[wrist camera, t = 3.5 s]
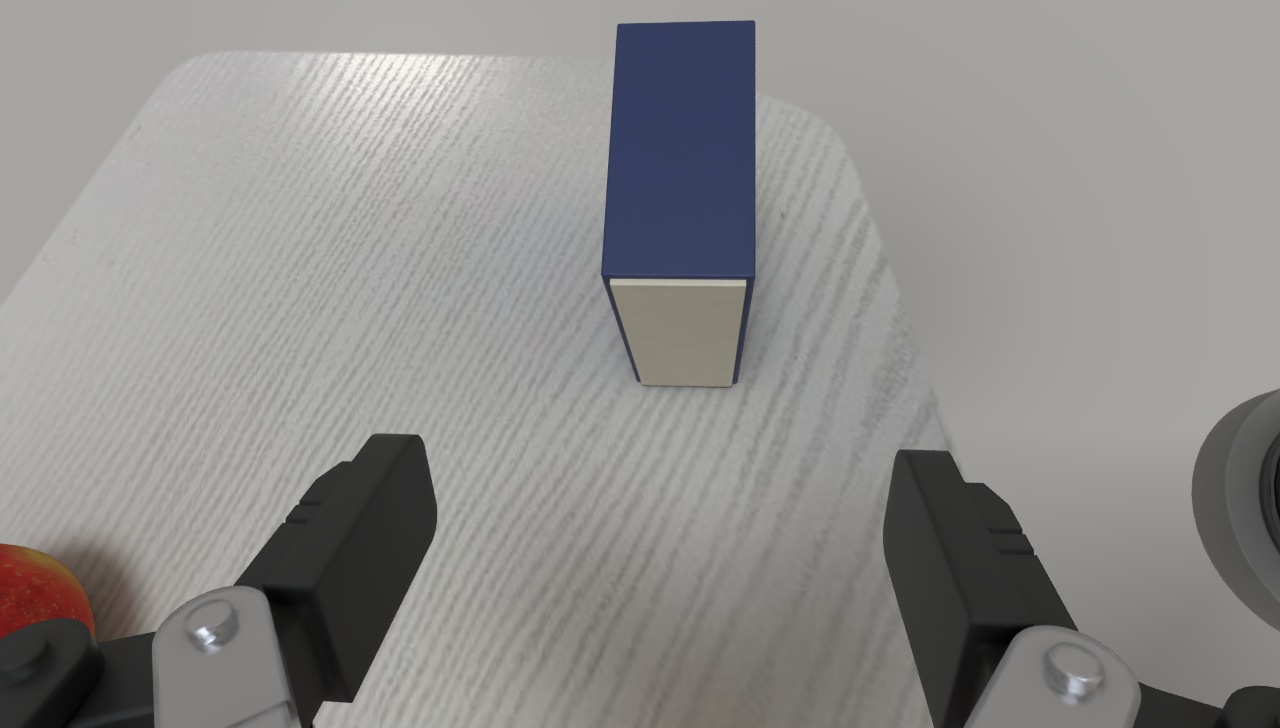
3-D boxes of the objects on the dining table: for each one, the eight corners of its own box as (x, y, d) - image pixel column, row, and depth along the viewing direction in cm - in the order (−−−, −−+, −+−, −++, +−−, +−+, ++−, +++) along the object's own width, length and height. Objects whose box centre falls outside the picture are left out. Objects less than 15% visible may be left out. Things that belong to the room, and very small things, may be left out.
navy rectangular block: (738, 203, 35) (755, 19, 23) (736, 388, 32) (755, 283, 21) (645, 203, 35) (617, 22, 24) (636, 386, 33) (600, 282, 21)
